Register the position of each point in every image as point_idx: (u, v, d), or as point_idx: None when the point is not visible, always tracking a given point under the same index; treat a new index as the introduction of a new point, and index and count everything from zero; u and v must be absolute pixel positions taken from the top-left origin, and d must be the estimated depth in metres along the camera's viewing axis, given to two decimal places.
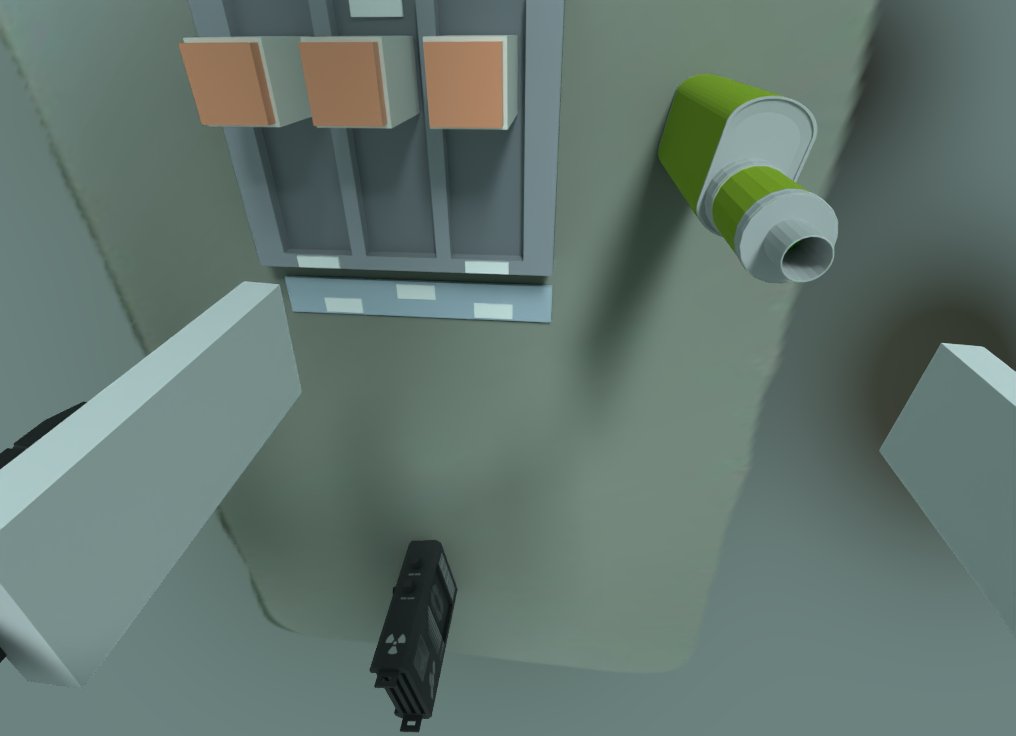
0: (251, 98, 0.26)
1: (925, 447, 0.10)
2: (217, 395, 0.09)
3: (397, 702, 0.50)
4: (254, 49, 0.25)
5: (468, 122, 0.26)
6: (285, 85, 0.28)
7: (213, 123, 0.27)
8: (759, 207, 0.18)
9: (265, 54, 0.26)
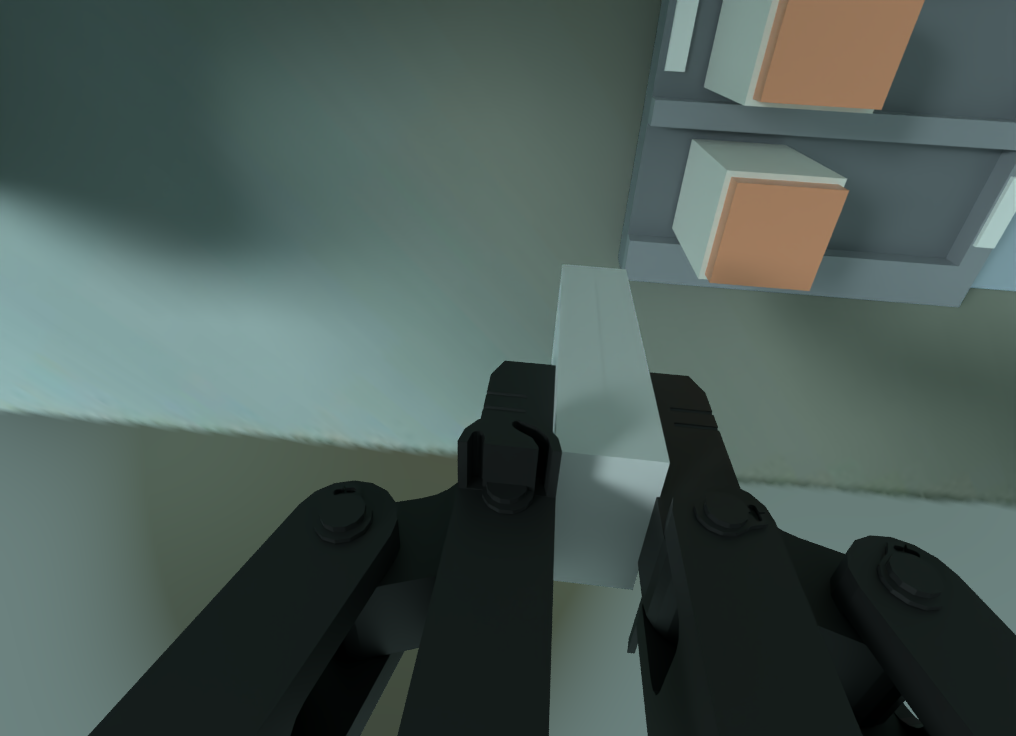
0: (804, 205, 0.18)
1: None
2: None
3: None
4: (744, 181, 0.18)
5: None
6: (777, 165, 0.19)
7: (813, 274, 0.19)
8: None
9: (747, 170, 0.18)
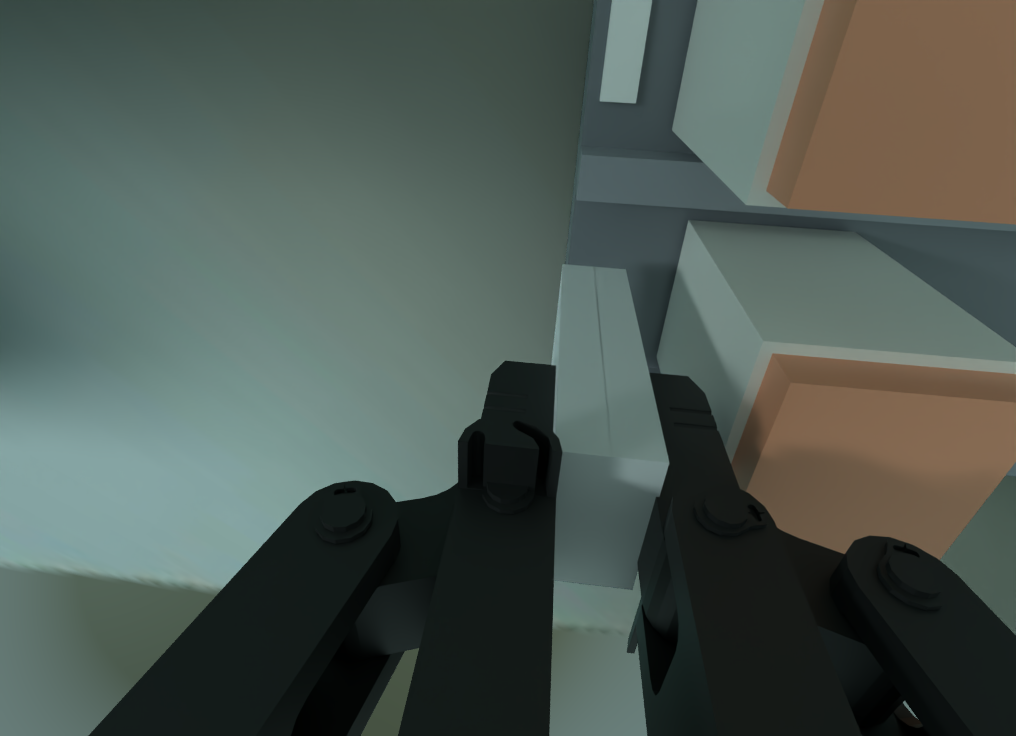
0: (945, 429, 0.08)
1: None
2: None
3: None
4: (805, 372, 0.08)
5: None
6: (866, 308, 0.09)
7: (946, 544, 0.09)
8: None
9: (807, 340, 0.08)
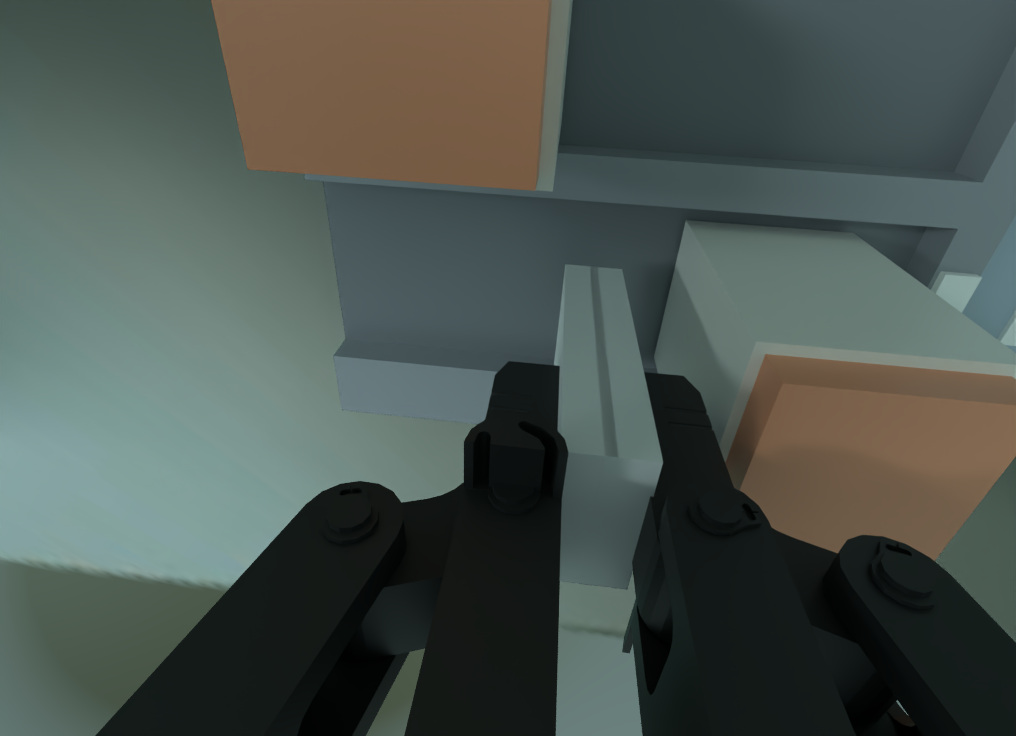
0: (938, 431, 0.08)
1: None
2: None
3: None
4: (797, 374, 0.08)
5: None
6: (860, 309, 0.09)
7: (939, 547, 0.09)
8: None
9: (801, 341, 0.08)
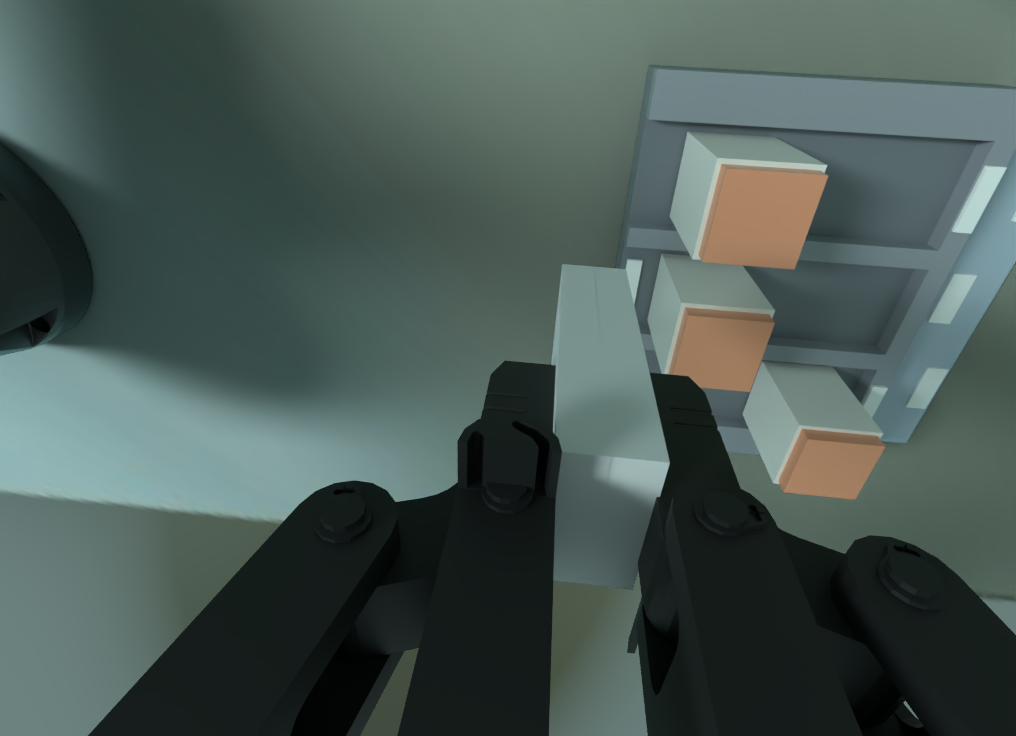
0: (854, 452, 0.25)
1: None
2: None
3: None
4: (812, 435, 0.25)
5: (805, 220, 0.20)
6: (832, 410, 0.27)
7: (858, 490, 0.27)
8: None
9: (813, 424, 0.26)
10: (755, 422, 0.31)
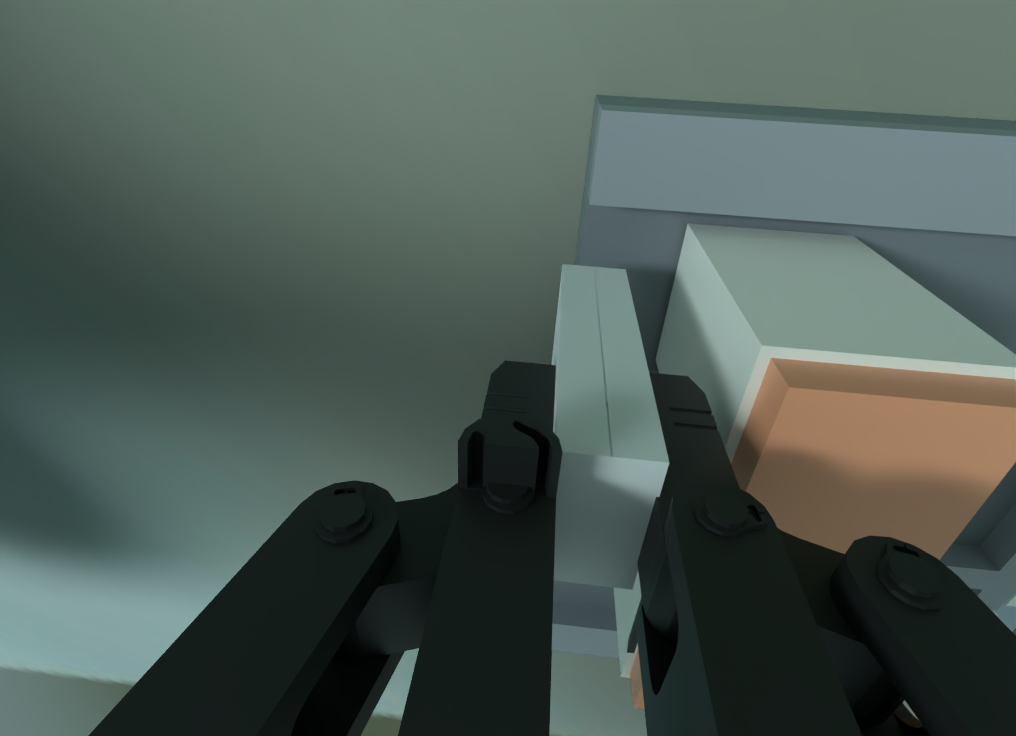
0: None
1: None
2: None
3: None
4: None
5: (974, 493, 0.08)
6: None
7: None
8: None
9: None
10: None
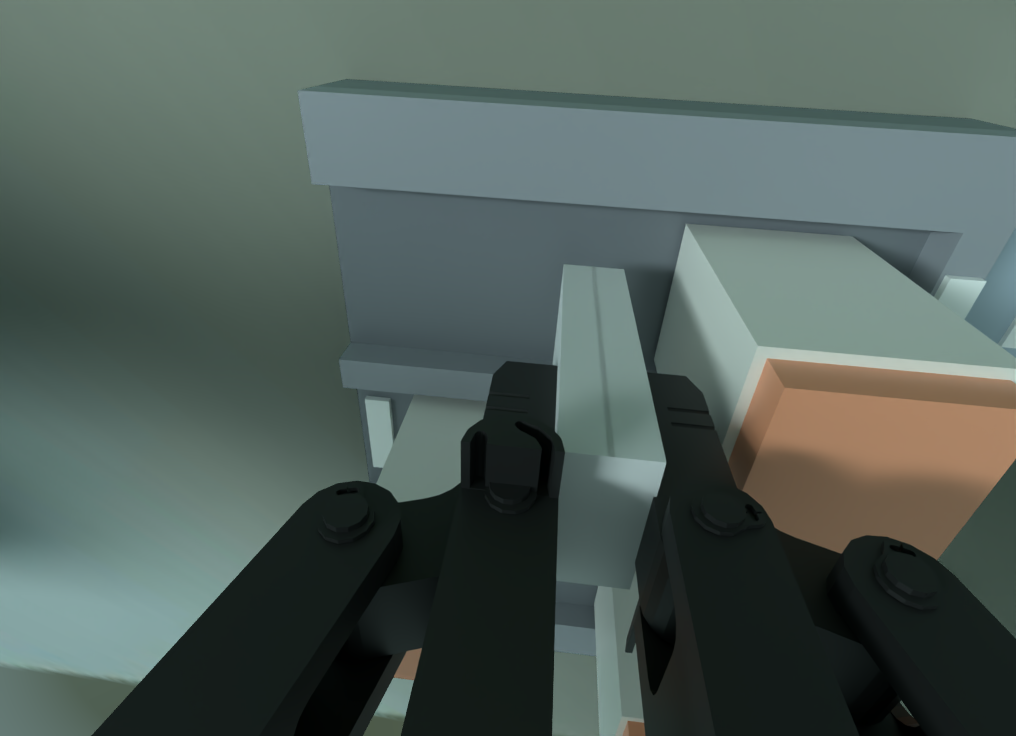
0: None
1: None
2: None
3: None
4: None
5: (971, 495, 0.08)
6: None
7: None
8: None
9: None
10: (599, 636, 0.20)
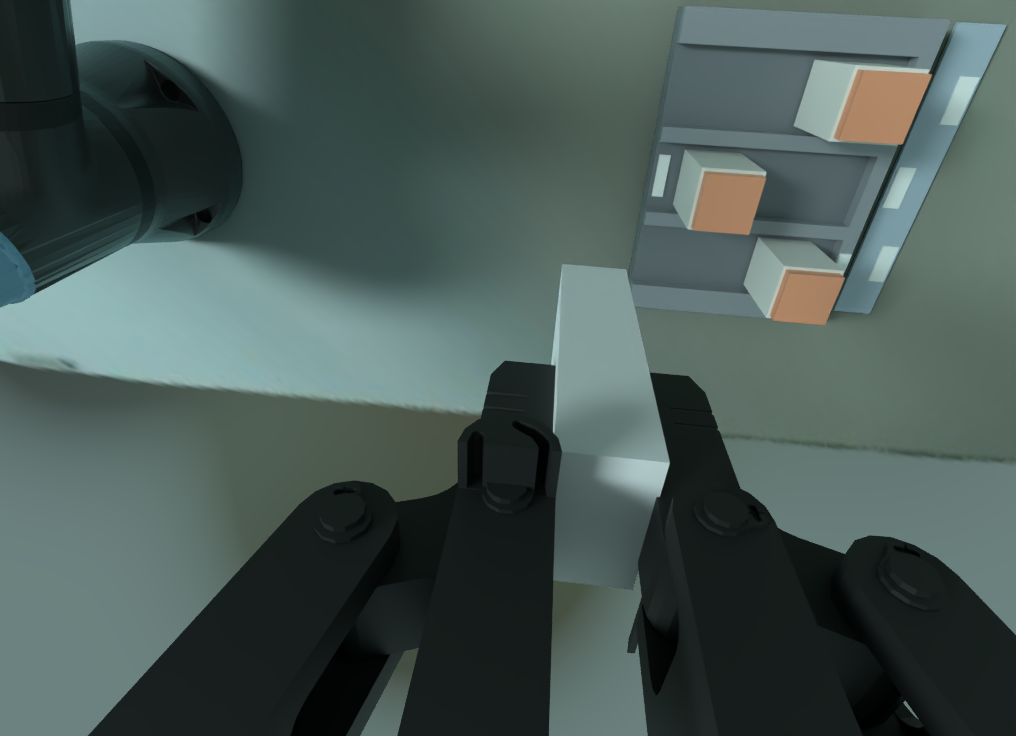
0: (823, 284, 0.36)
1: None
2: None
3: None
4: (793, 272, 0.36)
5: (913, 107, 0.30)
6: (808, 260, 0.37)
7: (827, 317, 0.37)
8: None
9: (794, 266, 0.36)
10: (753, 283, 0.41)
